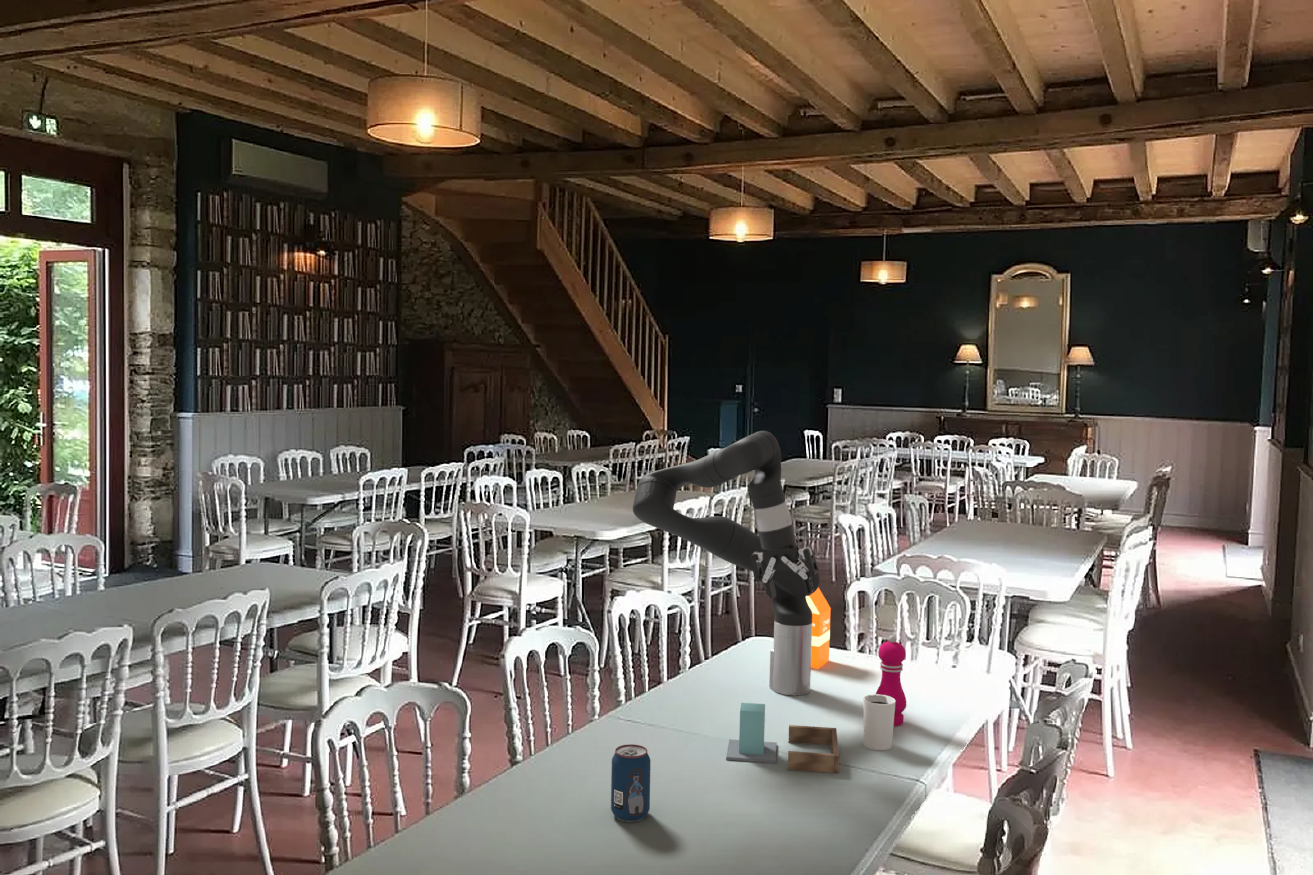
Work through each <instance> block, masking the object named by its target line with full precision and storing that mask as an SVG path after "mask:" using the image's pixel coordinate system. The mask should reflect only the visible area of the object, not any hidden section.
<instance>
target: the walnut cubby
mask: <svg viewBox="0 0 1313 875" xmlns="http://www.w3.org/2000/svg"><path fill="white" fill-rule="evenodd" d="M837 731H838V730H837V727H827V726H826V727H825V726H824V727H823V726H810V725H794V724H789V725H788V744H802V745H803V744H804V745H805V744H806V745H818V746H819V745H820V746H830V747H831V748H830V749H831V753H828V752H827V753H823V752H809V751H796V750H795V751H794V750H788V751H787V752H788V755H787V770H788V771H800V772H802V771H803V772H812V773H814V772H815V773H828V774H829V773H831V774H839V770H840V753H839V752H840V751H839V742H838V732H837Z"/></svg>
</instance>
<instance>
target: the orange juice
mask: <svg viewBox="0 0 1313 875" xmlns="http://www.w3.org/2000/svg"><path fill="white" fill-rule="evenodd" d="M806 601H807V603H808V606H809V607H810V609H811V611H812V646H811V669H817V670H818V669H820V668H822V667H823V666H825V664H826V663H828V662H829V660H830V641H831V640H830V639H831V609H832V607H830V605H829V602H828V601H827V599H826V598H825V596H824V594H823V592H822V591H821V589H820V587H818V589H817V590H816V591H815V592H814V593H812V594H811V595H810V596H806Z"/></svg>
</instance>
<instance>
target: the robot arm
mask: <svg viewBox="0 0 1313 875" xmlns="http://www.w3.org/2000/svg"><path fill="white" fill-rule="evenodd" d="M753 471H754V476H753V478H752V480H751V481H750V482H749V485H748V490H749V495H750V500H751V505H752V508H753V515H754V520H755V521H754V522H755V524H756V525H755V526H756V529H757V533H755V532H754V531H752V530H750V529H749V528H747V527H745V526H744V525H742V524H740V523H738V522H737V521H735V520H732V518H729V517H727V516H721V515H713V516H705V517H695V518H694V517H689V516H687V515H685V514H682V513H680V512H679V511H677V510H675V508H674V507H675V503H676V497H677V492H678V491H679V490H680V489H682V488H683V487H685V486H687V485H692V486H693V485H694V486H697V487H700V488H708V489H709V488H714V487H715V488H716V487H717V486H720V485H723V484H724V483H728V482H730V481H732V480H734V479H736V478H737V477H739V476H743V475H744V474H748V473H751V472H753ZM632 512H633V514H634V516H635V517H636V518H637V519H638V520H639V521H641V522H643V523H644V524H646V525H649V526H651V527H654V528H655V529H658V530H661V531H664V532H666V533H669V534H671V535H674V536H676V537H678V538H681V539H683V540H685V541H687V542H689V543H691V544H694V545H695V546H697V547H699V548H701V549H702V550H705V551H706V552H708V553H710V554H712V555H713V556H716V557H717V558H720V559H721V560H723V561H726V562H727V563H730V564H733V565H734V566H737V567H739V568H742V569H744V570H746V571H747V570H748V571H750V572H753V573H752V574H753V579H754V580H755V582H756V581H761V582H762V583H763V585H764V589H765V592H766V595H767V597H769V599H771V608H772V611H773V614H774V626H773V648H772V649H770V654H769V688H771V689H772V690H773V691H774V692H776V693H777V694H780V695H787V696H802V695H807V694H808V693H809V692H811V677H812V676H811V675H812V668H811V646H812V611H811V609H810V607H809V606H808V603H807V601H806V596H810V595H811V594H812V593H814V592H815V591H816V590H817V589H818V587H819V586H820V583H821V576H820V573H819V570H820V569H819V567H818V566H819V565H818V563H817V560H816V556H815V553H814V550H813V547H812V546H811V545H807V546H806V547H804V548H799V546H798V545H797V538H796V534H795V529H794V526H793V522H792V519H793V518H792V516H791V513H790V510H789V507H788V505H787V501H786V497H785V493H784V490H783V485H782V453H781V447H780V445H779V442H778V439H776V436H774V435H773V434H772V432H769V431H767V430H760V431H756V432H754V433H752V434H750V435H747V436H745V437H743V438H741V439H739V440H738V441H735V442H734V443H731V444H730V445H728V446H726V447H724V448H721V449H718V450H716V451H714V452H711V453H710V454H707V455H706V456H704V457H700V458H699V459H697V460H693V461H690V462H686V463H682V464H678V465H674V466H670V467H669V466H668V467H665V468H662V469H658V470H655V471H652V472H649V473H646V474H644V475H643V476H642V477H641V478H640V479H639V481H638V484H637V487H636V491H635V495H634V499H633V504H632ZM819 588H820V587H819Z"/></svg>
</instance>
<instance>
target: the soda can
mask: <svg viewBox="0 0 1313 875" xmlns="http://www.w3.org/2000/svg"><path fill="white" fill-rule="evenodd" d="M649 755H650V754H648V749H647V748H646V747H645V746H642V745H640V744H623V745H620V746H618V747H616V748H615V750H614V754H613V756H612V758H611V774H610V775H611V784H610V791H611V792H610V810H611V812H612V814H613V816H614V817H615V819H616V818H617V819H616V820H618V819H619V820H618V821H620V820H621V821H620V822H624V821H626V822H625V823H634V822H633V821H637V822H641V821H643V820H644V819H645V818H646V817H647V815H648V813H649V812H650V809H651V808H650V806H651V805H650V804H651V803H650V802H651V760H652V759H651V758H650V756H649ZM642 819H643V820H642ZM640 820H641V821H640Z"/></svg>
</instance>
